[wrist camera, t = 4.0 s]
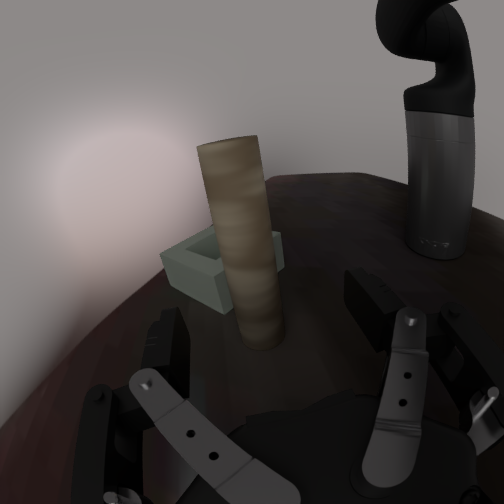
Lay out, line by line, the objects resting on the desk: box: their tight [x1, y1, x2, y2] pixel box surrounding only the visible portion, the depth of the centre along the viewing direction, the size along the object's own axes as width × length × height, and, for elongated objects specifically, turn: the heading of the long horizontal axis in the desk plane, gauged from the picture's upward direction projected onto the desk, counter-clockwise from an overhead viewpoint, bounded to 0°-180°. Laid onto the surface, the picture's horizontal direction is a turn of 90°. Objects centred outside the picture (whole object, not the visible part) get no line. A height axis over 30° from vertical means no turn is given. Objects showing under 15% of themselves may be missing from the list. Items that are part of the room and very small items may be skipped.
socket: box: [160, 225, 285, 315], centre depth 32 cm, size 10×10×4 cm
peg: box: [197, 135, 285, 351], centre depth 19 cm, size 4×4×16 cm
